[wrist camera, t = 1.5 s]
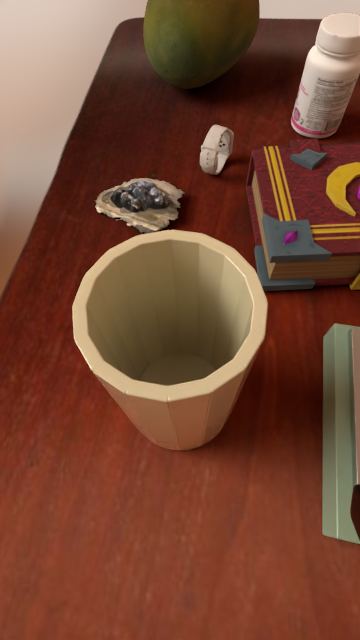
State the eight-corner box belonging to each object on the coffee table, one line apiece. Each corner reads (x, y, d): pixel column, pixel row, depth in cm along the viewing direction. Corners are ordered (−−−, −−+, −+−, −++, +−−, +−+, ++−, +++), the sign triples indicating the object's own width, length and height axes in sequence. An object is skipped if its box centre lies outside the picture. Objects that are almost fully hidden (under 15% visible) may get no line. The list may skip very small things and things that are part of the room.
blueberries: (175, 241, 28) (173, 225, 27) (83, 230, 29) (76, 214, 28) (188, 185, 31) (188, 167, 30) (105, 176, 32) (100, 159, 31)
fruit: (255, 53, 42) (271, -67, 33) (244, 115, 36) (261, -11, 27) (162, 47, 43) (154, -70, 34) (137, 106, 37) (120, -16, 28)
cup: (223, 460, 20) (257, 419, 10) (118, 439, 21) (42, 378, 11) (236, 358, 23) (273, 242, 13) (143, 343, 24) (105, 220, 14)
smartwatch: (216, 185, 31) (219, 145, 28) (195, 178, 32) (195, 138, 28) (231, 162, 33) (236, 120, 29) (211, 155, 33) (213, 114, 30)
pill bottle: (290, 109, 36) (316, 8, 29) (337, 113, 36) (375, 11, 28) (288, 138, 34) (316, 36, 27) (338, 142, 33) (380, 40, 26)
